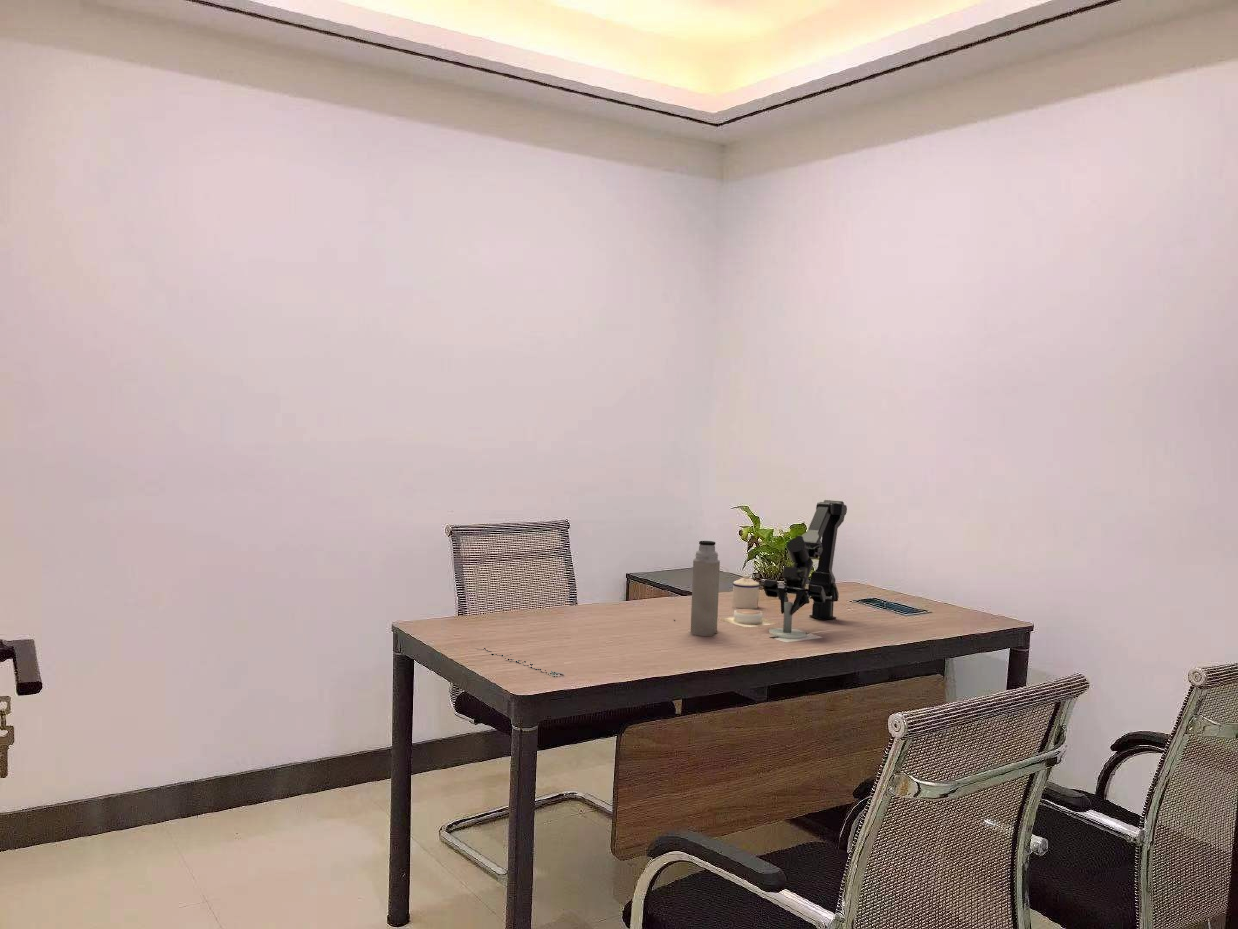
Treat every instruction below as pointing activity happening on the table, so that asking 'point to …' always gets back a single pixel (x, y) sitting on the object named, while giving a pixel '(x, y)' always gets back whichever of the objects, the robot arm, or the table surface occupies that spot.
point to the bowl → (748, 616)
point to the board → (731, 620)
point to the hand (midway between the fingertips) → (786, 613)
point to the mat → (808, 636)
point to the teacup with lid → (745, 593)
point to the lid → (787, 626)
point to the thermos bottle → (705, 590)
